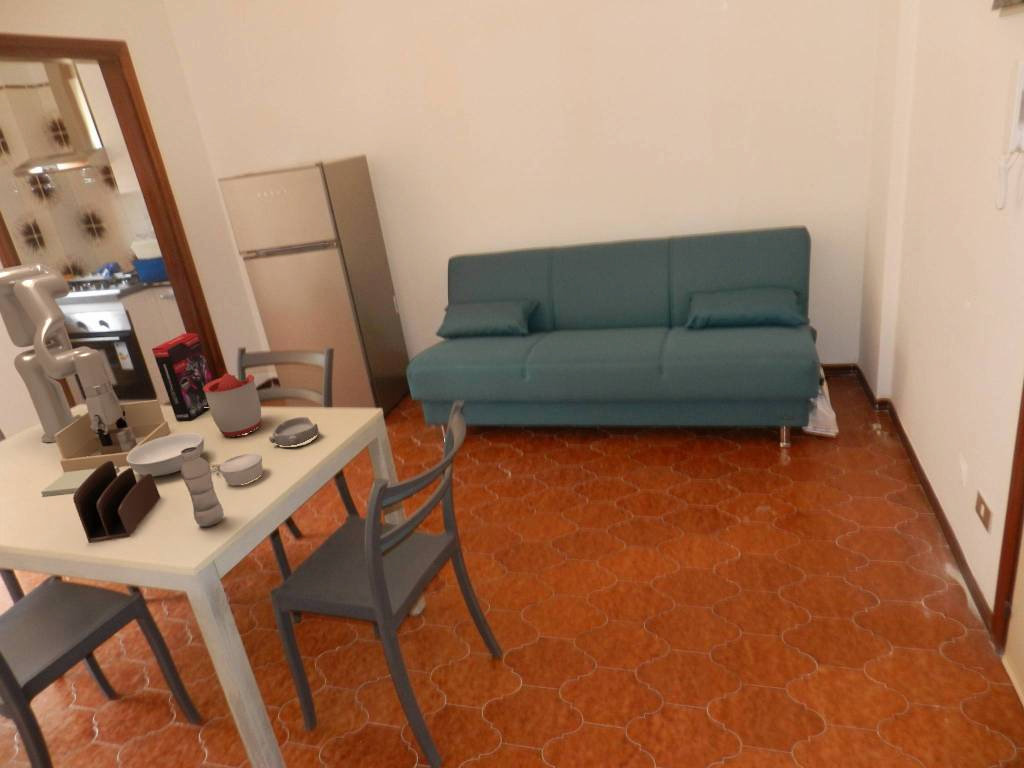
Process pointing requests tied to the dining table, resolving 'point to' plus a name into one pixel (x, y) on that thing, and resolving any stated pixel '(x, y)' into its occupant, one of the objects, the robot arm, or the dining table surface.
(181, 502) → the dining table surface
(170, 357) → the graphics card box
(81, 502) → the letter holder
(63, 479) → the board
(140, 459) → the serving bowl
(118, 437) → the walnut box
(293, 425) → the dish
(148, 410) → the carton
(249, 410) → the citrus juicer
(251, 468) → the ramekin
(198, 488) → the plastic bottle
